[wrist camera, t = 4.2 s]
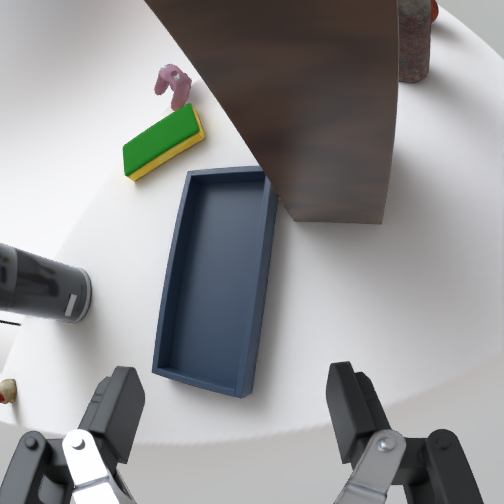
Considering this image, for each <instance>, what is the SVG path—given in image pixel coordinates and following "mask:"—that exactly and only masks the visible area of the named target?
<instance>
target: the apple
mask: <svg viewBox="0 0 504 504" xmlns="http://www.w3.org/2000/svg"><path fill="white" fill-rule="evenodd" d="M437 16H438V5H437V3H436V1H435V0H431V23H432V22H433V21H434V20H435V19H436V18H437Z"/></svg>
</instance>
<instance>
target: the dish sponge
mask: <svg viewBox="0 0 504 504" xmlns="http://www.w3.org/2000/svg"><path fill="white" fill-rule="evenodd" d="M204 138H205V134H204V131H203V128H202V126H201V123H200V120H199V117H198V114H197V111H196V110H195V109H194V107H193V106H192V105H191V104H187V105H185V106H183V107H182V108H180V109H178V110H177V111H175V112H173V113H172V114H170V115H169V116H167V117H165V118H164V119H162V120H161V121H159V122H158V123H156V124H154V125H153V126H151V127H150V128H148V129H147V130H145V131H144V132H142V133H141V134H139V135H138V136H137V137H135V138H134V139H132V140H131V141H130V142H128V143H127V144H125V145H124V146H123V159H124V172H125V175H126V176H127V177H128V178H130V179H131V180H133V181H136V180H137V179H139V178H140V177H142V176H144V175H145V174H147V173H148V172H150V171H151V170H153V169H154V168H156V167H158V166H159V165H161V164H162V163H164V162H166V161H167V160H169V159H170V158H172V157H174V156H175V155H177V154H179V153H180V152H182V151H184V150H186V149H187V148H189V147H191V146H192V145H194V144H196V143H198V142H199V141H201V140H203V139H204Z"/></svg>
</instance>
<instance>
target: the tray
mask: <svg viewBox="0 0 504 504" xmlns="http://www.w3.org/2000/svg"><path fill="white" fill-rule="evenodd" d="M277 199H278V194H277V192H276V191H275V189H274V187H273V186H272V184H271V183H270V181H269V179H268V178H267V176H266V175H265V173H264V171H263V170H262V168H261V167H260V166H244V167H229V168H216V169H205V170H194V171H188V172H187V176H186V180H185V184H184V189H183V193H182V197H181V202H180V206H179V210H178V215H177V219H176V224H175V229H174V234H173V239H172V244H171V249H170V254H169V259H168V264H167V270H166V275H165V281H164V287H163V293H162V299H161V305H160V312H159V319H158V326H157V333H156V340H155V348H154V356H153V365H152V373H154V374H157V375H160V376H163V377H166V378H169V379H172V380H175V381H179V382H182V383H185V384H188V385H192V386H195V387H199V388H202V389H206V390H210V391H213V392H217V393H221V394H225V395H229V396H233V397H238V398H244V397H245V396H247V395H249V394H251V393H252V388H253V382H254V375H255V368H256V361H257V354H258V347H259V340H260V333H261V325H262V318H263V311H264V303H265V296H266V288H267V280H268V273H269V265H270V257H271V249H272V241H273V233H274V224H275V216H276V208H277Z"/></svg>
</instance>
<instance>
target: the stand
mask: <svg viewBox="0 0 504 504" xmlns="http://www.w3.org/2000/svg"><path fill="white" fill-rule="evenodd" d="M144 1H145V2H146V4H147V5H148V6H149V7H150V9H151V10H152V11H153V12H154V14H155V15H156V16H157V18H158V19H159V20H160V22H161V23H162V24H163V25H164V27H165V28H166V29H167V31H168V32H169V33H170V35H171V36H172V37H173V39H174V40H175V41H176V43H177V44H178V46H179V47H180V48H181V49H182V51H183V52H184V54H185V55H186V56H187V58H188V59H189V61H190V62H191V63H192V65H193V66H194V68H195V69H196V70H197V72H198V73H199V75H200V76H201V78H202V79H203V80H204V82H205V83H206V85H207V86H208V88H209V89H210V91H211V92H212V93H213V95H214V96H215V98H216V99H217V101H218V102H219V104H220V105H221V107H222V108H223V110H224V111H225V113H226V114H227V116H228V117H229V119H230V120H231V122H232V123H233V125H234V126H235V128H236V129H237V131H238V132H239V134H240V135H241V137H242V138H243V140H244V141H245V143H246V145H247V146H248V148H249V149H250V151H251V152H252V154H253V155H254V157H255V159H256V160H257V162H258V163H259V165H260V167H261V168H262V170H263V171H264V173H265V175H266V176H267V178H268V179H269V181H270V183H271V184H272V186H273V187H274V189H275V191H276V192H277V194H278V196H279V197H280V199H281V201H282V202H283V204H284V206H285V207H286V209H287V211H288V212H289V214H290V216H291V217H292V219H293V221H309V222H341V223H366V224H381V223H382V218H383V213H384V207H385V202H386V196H387V190H388V183H389V177H390V170H391V162H392V155H393V146H394V137H395V127H396V115H397V101H398V82H399V21H398V3H397V0H144Z"/></svg>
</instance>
